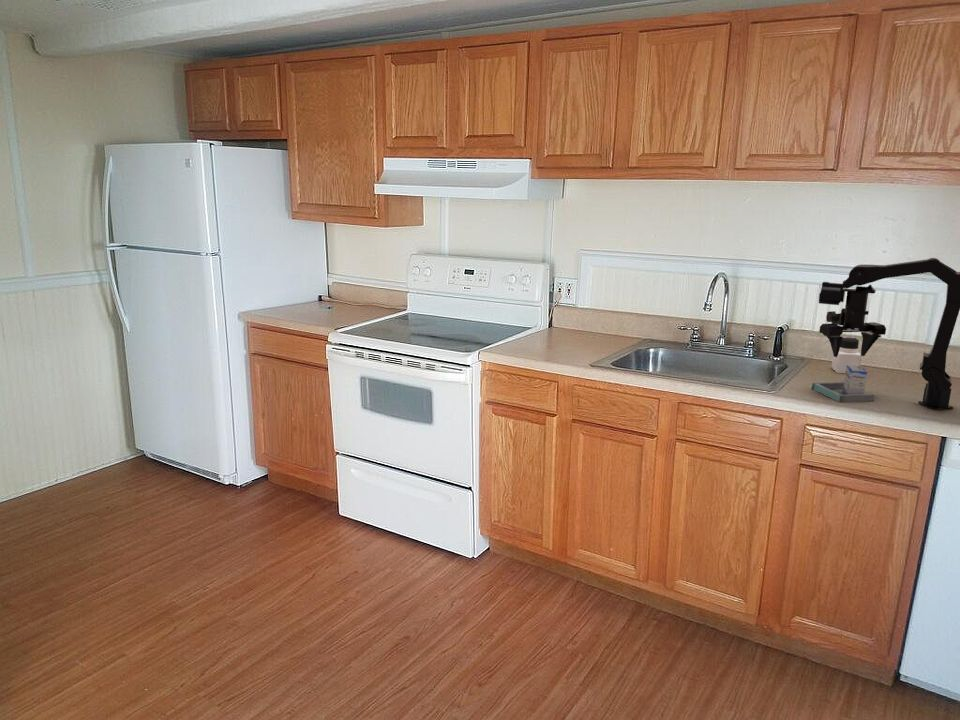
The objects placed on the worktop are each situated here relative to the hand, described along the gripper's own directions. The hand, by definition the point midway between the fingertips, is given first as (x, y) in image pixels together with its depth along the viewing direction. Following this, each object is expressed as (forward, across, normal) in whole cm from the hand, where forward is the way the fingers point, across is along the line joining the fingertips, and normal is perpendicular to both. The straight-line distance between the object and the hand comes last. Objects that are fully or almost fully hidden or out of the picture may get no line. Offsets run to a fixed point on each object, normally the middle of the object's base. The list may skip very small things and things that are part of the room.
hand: (848, 356), depth 220 cm
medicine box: (+12, -2, +2) cm, 13 cm away
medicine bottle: (+12, -17, -24) cm, 32 cm away
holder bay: (+12, +1, +1) cm, 12 cm away
